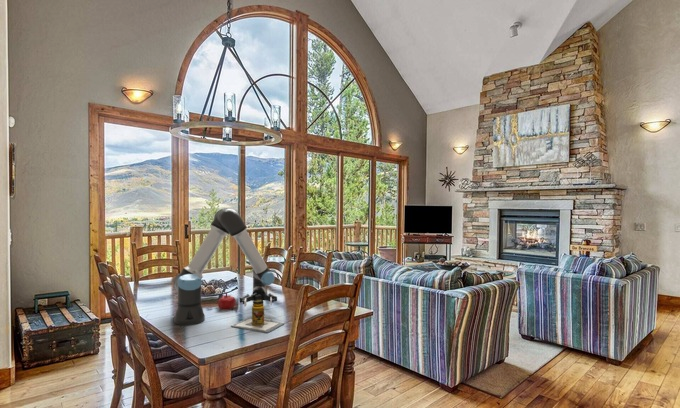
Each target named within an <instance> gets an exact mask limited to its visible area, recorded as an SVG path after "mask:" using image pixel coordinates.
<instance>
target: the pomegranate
mask: <svg viewBox="0 0 680 408" xmlns="http://www.w3.org/2000/svg"><path fill="white" fill-rule="evenodd" d="M236 301H237V300H236V298H235V297H234V296H232V295H231V294H229V295H228V292H225V294H221V297H220V298H219V300H218V301H217V305H218V309H220V310H231V309H234V308H235V306H236Z"/></svg>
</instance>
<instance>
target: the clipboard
mask: <svg viewBox="0 0 680 408" xmlns="http://www.w3.org/2000/svg"><path fill="white" fill-rule="evenodd" d="M251 322H252V317H247V318H244V319H243V320H240V321H239V322H236V323H233V324H231V325H230V327H231V328H235V329H240V330H241V329H242V330H248V331H254V332H257V333H264V334H269V333H271V332H272V331H275V330H276V329H279V328H280V327H282V326H284V325H285V322H280V321H279V322H278V321H275V320H274V321H273V320H272V319H271V318H266V317H264V323H268V324H265V325H263V326H259V327H255V326H251V325H249V324H247V323H251Z"/></svg>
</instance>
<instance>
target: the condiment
mask: <svg viewBox="0 0 680 408" xmlns="http://www.w3.org/2000/svg"><path fill="white" fill-rule="evenodd" d="M264 303H265V301H264V300H254V301H252V307H251V318H252V322H251V323H247V324H249V325H251V326H255V327H259V326H263V325H265V324H268V323H264V318H265V306H264Z"/></svg>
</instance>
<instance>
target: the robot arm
mask: <svg viewBox="0 0 680 408" xmlns="http://www.w3.org/2000/svg"><path fill="white" fill-rule="evenodd" d="M247 229H248V227H247V226H246V223H245V222H244V220H243V218H242V216H241V215H240V213H239V212H238V211H236V210H235V209H233V208H228V207H227V208H221V209H219V210H217V211H216V212H215V214H214V216H213V220H212V221H211V223H210V230H209V231H208V233H207V235H206V237H205V238H204V240H203V241H202V243H201V244H200V246H199V248H198V250H196V252H195V254H194V255H193V258H192V259H191V261H190V262H189V264H188V265H187V266H184V267H183V268H182V270H181V272H180V273H179V274H177V276H176V277H174V281H173V288H174V291H175V292H176V293H177V308H176V310H175V314H174V317H173V323H174V324H176V325H178V326H179V325H180V326H190V325H191V326H192V325H196V324H199V323H202V322H204V321H205V320H206V319H205V317H206V315H205V313H204V309H203V306H202V284H203V281H202V279H203V272H204V271H205V269H206V267H207V265H208V264H209V262H210V261H211V259H212V257H213V256H214V254H215V252H216V251H217V249H218V248H219V246H220V244H221V242H222V241H223V239H224V238H225V237H227V236H231V237H232V238H234V240H235V241H236V243H237V244H238V246H239V247H240V250H242V253H243V254H244V256H245V258H246V259H247V261H248V263H249V264H250V267H252V294H249V293H247V294H245V295H243V296H241V297H239V303H240V304H241V303H242V305H243V306H244V307H247V303H248V302H253V301H254V300H263V301H264V302H265V301H268V302H270V306H273V303H275V302H278V296H276V295H274V294H272V292H271V293H270V292H269V293H268V294H266V290H267V287H266V286H271V285H273V283H274V282H275V280H276V279H275V278H276V277H275V275H274V273H273V272H272V271H271V270H270V269H269V267H268V265H267V263H266V262H265V260H264V258H263V256H262V254H261V253H260V251H259V250H258V248H257V246H256V245H255V243H254V241H253V239H252V238H251V236H250V235H249V233H248V230H247Z"/></svg>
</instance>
